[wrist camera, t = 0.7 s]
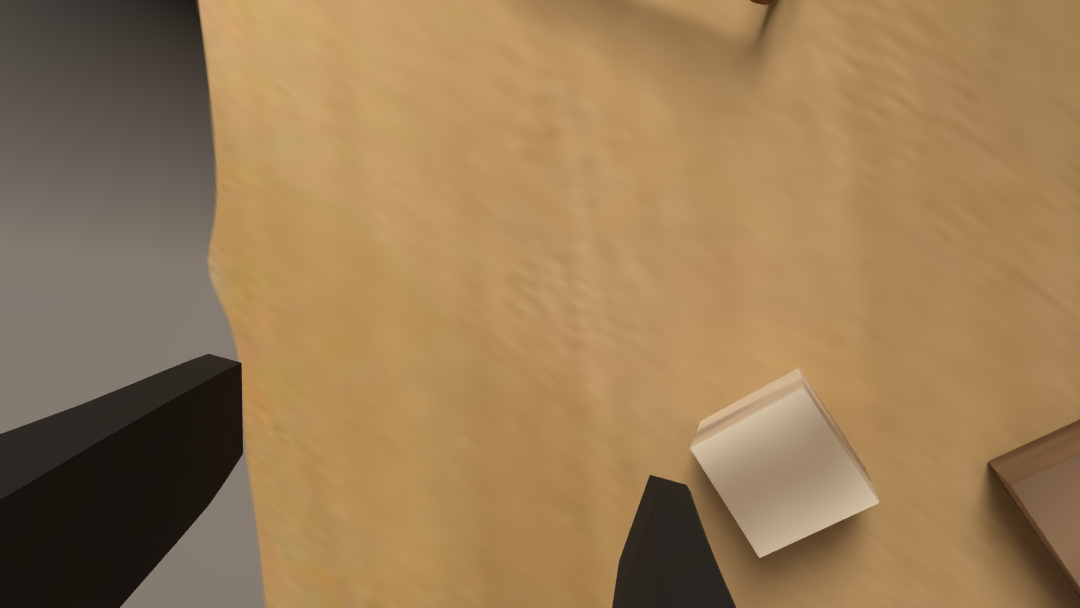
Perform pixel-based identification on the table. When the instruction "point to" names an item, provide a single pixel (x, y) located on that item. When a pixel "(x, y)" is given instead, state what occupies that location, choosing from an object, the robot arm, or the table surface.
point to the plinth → (1049, 493)
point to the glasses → (762, 1)
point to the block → (782, 464)
